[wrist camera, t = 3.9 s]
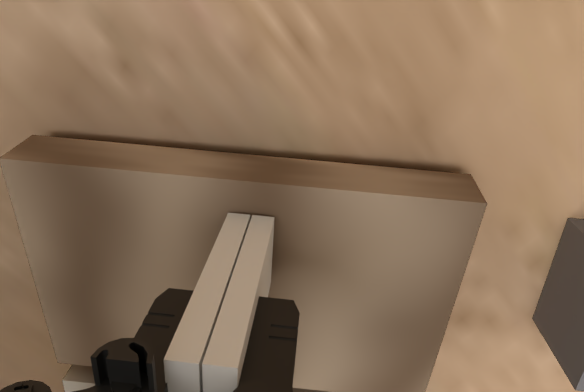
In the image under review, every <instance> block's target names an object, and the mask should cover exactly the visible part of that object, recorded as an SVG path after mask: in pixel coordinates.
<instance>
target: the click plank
mask: <svg viewBox="0 0 584 392" xmlns="http://www.w3.org/2000/svg"><path fill="white" fill-rule="evenodd" d="M0 164H1V168H2V171H3V175H4V178H5V182H6V185H7V189H8V192H9V196H10V199H11V203H12V206H13V209H14V213H15V216H16V220H17V223H18V227H19V230H20V234H21V237H22V241H23V244H24V248H25V251H26V254H27V258H28V261H29V265H30V268H31V272H32V275H33V279H34V282H35V286H36V289H37V292H38V296H39V299H40V303H41V306H42V310H43V313H44V317H45V320H46V324H47V327H48V331H49V334H50V337H51V341H52V344H53V348H54V351H55V355H56V358H57V362H58V363H65V364H74V365H84V366H92V364H91V358H90V357H91V356H92V354H93V353H94V352H95V351H96V350H97V349H98V348H99V347H101V346H103V345H104V344H106V343H108V342H110V341H113V340H117V339H120V338H134V337H135V335H136V333H137V331H138V329H139V328H140V326H142V322H143V320H144V318H145V317H146V315H148V311H149V309H150V307H151V306H152V304H153V302H154V300H155V299H156V298H157V297H158V296H159V295H160V294H162V293H163V292H164V291H165V290H167V289H168V288H174V289H184V290H193V291H194V289H195V287H196V285H197V282H198V280H199V278H200V276H201V273H202V271H203V269H204V266H205V264H206V262H207V260H208V257H209V255H210V253H211V251H212V248H213V246H214V244H215V241H216V239H217V237H218V235H219V232H220V230H221V228H222V226H223V223H224V221H225V219H226V216H227V214H228V213H238V214H248V215H250V220H251V217H252V215H259V216H269V217H275V218H274V236H273V254H272V272H271V284H270V289H269V294H268V297H269V298H279V299H288V300H294V302H295V304H296V306H297V308H298V310H299V313H300V316H299V326H298V337H297V348H296V358H295V368H294V378H293V388H301V389H310V390H320V391H329V392H425V391H426V388H427V385H428V382H429V379H430V376H431V373H432V370H433V367H434V364H435V361H436V358H437V355H438V352H439V349H440V346H441V343H442V340H443V337H444V333H445V330H446V327H447V324H448V321H449V318H450V315H451V312H452V309H453V306H454V303H455V300H456V297H457V294H458V291H459V288H460V285H461V282H462V279H463V276H464V273H465V270H466V266H467V263H468V260H469V257H470V254H471V251H472V248H473V245H474V242H475V239H476V236H477V233H478V230H479V227H480V224H481V221H482V218H483V215H484V212H485V209H486V206H487V202H486V200H485V199H484V197H483V195H482V193H481V192H480V190H479V188H478V186H477V184H476V183H475V181H474V179H473V177H472V176H471V174H461V173H449V172H438V171H427V170H416V169H405V168H394V167H383V166H372V165H361V164H350V163H338V162H327V161H316V160H305V159H294V158H283V157H272V156H261V155H250V154H239V153H228V152H216V151H205V150H194V149H183V148H172V147H161V146H150V145H139V144H128V143H117V142H105V141H94V140H83V139H72V138H61V137H50V136H39V135H32V136H30V137H29V138H28V139H26V140H25V141H23V142H22V143H20V144H19V145H17V146H16V147H15V148H13V149H12V150H10V151H9V152H7V153H6V154H4V155H3V156H2V157H0Z"/></svg>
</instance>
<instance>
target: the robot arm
mask: <svg viewBox="0 0 584 392" xmlns="http://www.w3.org/2000/svg"><path fill="white" fill-rule="evenodd" d="M274 218H275V217H269V216H259V215H252V217H251V220H250V215H248V214H238V213H228V214H227V216H226V219H225V221H224V223H223V226H222V228H221V230H220V232H219V235H218V237H217V239H216V241H215V244H214V246H213V248H212V251H211V253H210V255H209V257H208V260H207V262H206V264H205V266H204V269H203V271H202V273H201V276H200V278H199V280H198V282H197V285H196V287H195V289H194V291H193V290H184V289H174V288H168V289H167V290H165V291H164V292H163V293H162V294H160V295H159V296H158V297H157V298H156V299H155V300H154V302H153V304H152V306H151V307H150V309H149V311H148V315H146V317H145V318H144V320H143V322H142V326H140V328H139V329H138V331H137V333H136V335H135V337H134V338H120V339H117V340H113V341H110V342H108V343H106V344H104V345H103V346H101V347H99V348H98V349H97V350H96V351H95V352H94V353H93V354H92V356H91V357H90V358H91V364H92V370H93V375H94V381H95V386H92V387H90V388H87V389H83V390H79V391H72V392H293V378H294V368H295V358H296V348H297V337H298V326H299V316H300V313H299V310H298V308H297V306H296V304H295V302H294V300H288V299H279V298H269V297H268V294H269V289H270V284H271V272H272V254H273V236H274ZM0 392H51V389H50V387H49V386H47V385H46V384H44V383H43V382H39V381H33V380H29V381H22V382H17V383H14V384H12V385H10V386H7V387H5V388H3V389H2V390H0Z"/></svg>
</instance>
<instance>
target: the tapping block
mask: <svg viewBox="0 0 584 392" xmlns="http://www.w3.org/2000/svg"><path fill="white" fill-rule="evenodd" d="M532 319H533V321H534V322H535V324H536V326H537V327H538V329H539V331H540V332H541V334H542V336H543V337H544V339H545V341H546V342H547V344H548V346H549V347H550V349H551V351H552V352H553V354H554V356H555V357H556V359H557V361H558V362H559V364H560V366H561V367H562V369H563V371H564V372H565V374H566V376H567V377H568V379H569V381H570V382H571V384H572V386H573V387H574V389H575V390H578V391H584V219H575V218H568V219H567V222H566V225H565V227H564V230H563V233H562V236H561V239H560V242H559V244H558V247H557V250H556V253H555V256H554V259H553V261H552V264H551V267H550V270H549V273H548V276H547V278H546V281H545V284H544V287H543V290H542V293H541V295H540V298H539V301H538V304H537V307H536V310H535V313H534V315H533V318H532Z"/></svg>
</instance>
